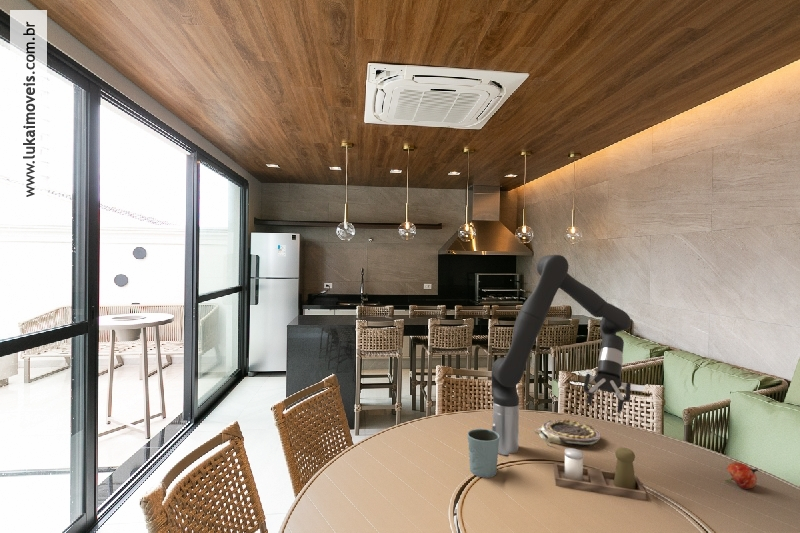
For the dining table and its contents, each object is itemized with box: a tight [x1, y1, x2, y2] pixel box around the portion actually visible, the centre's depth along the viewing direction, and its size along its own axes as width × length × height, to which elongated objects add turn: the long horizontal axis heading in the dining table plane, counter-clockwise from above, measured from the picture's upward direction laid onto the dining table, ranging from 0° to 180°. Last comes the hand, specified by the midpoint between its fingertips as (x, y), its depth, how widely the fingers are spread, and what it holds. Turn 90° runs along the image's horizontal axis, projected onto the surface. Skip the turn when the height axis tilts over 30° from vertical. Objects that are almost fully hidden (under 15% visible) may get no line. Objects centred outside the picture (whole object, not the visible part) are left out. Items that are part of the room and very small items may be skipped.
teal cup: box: [467, 428, 499, 478], centre depth 132 cm, size 10×10×12 cm
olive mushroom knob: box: [614, 446, 636, 490], centre depth 123 cm, size 6×6×11 cm
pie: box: [533, 419, 602, 448], centre depth 161 cm, size 28×27×5 cm
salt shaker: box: [564, 447, 584, 481], centre depth 126 cm, size 5×5×9 cm
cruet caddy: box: [553, 462, 647, 501], centre depth 124 cm, size 24×11×3 cm, turn 72°
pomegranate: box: [724, 461, 760, 490], centre depth 126 cm, size 7×7×10 cm
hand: (604, 408), depth 136 cm, fingers open, 8 cm apart
